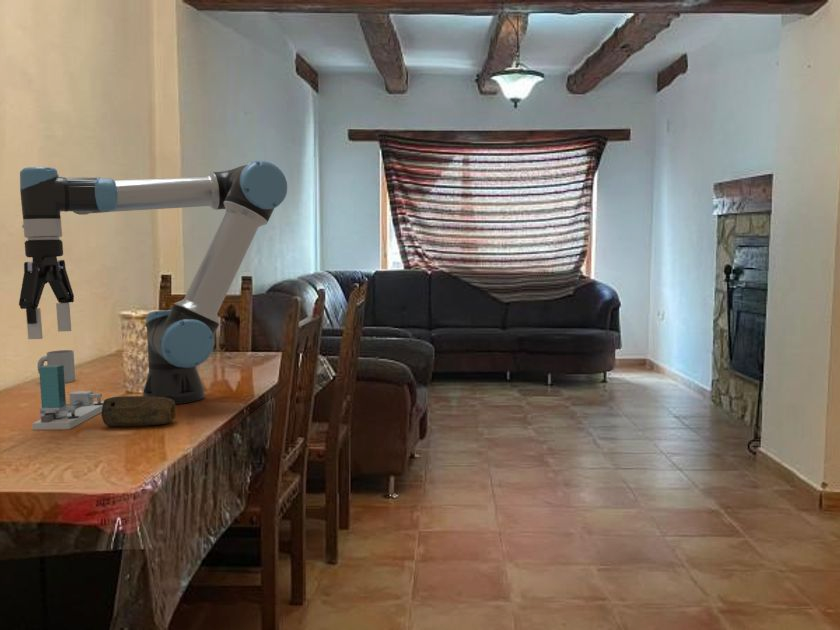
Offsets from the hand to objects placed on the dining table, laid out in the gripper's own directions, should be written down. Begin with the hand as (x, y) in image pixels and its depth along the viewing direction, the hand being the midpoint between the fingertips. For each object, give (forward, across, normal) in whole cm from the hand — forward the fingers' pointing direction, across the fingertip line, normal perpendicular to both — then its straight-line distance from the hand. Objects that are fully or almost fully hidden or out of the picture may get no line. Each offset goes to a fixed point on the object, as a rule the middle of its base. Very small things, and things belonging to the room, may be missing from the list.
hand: (50, 335), depth 171 cm
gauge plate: (+20, -6, +1) cm, 21 cm away
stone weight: (+21, +2, +20) cm, 29 cm away
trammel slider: (+18, 0, +1) cm, 18 cm away
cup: (+20, -55, -26) cm, 64 cm away
